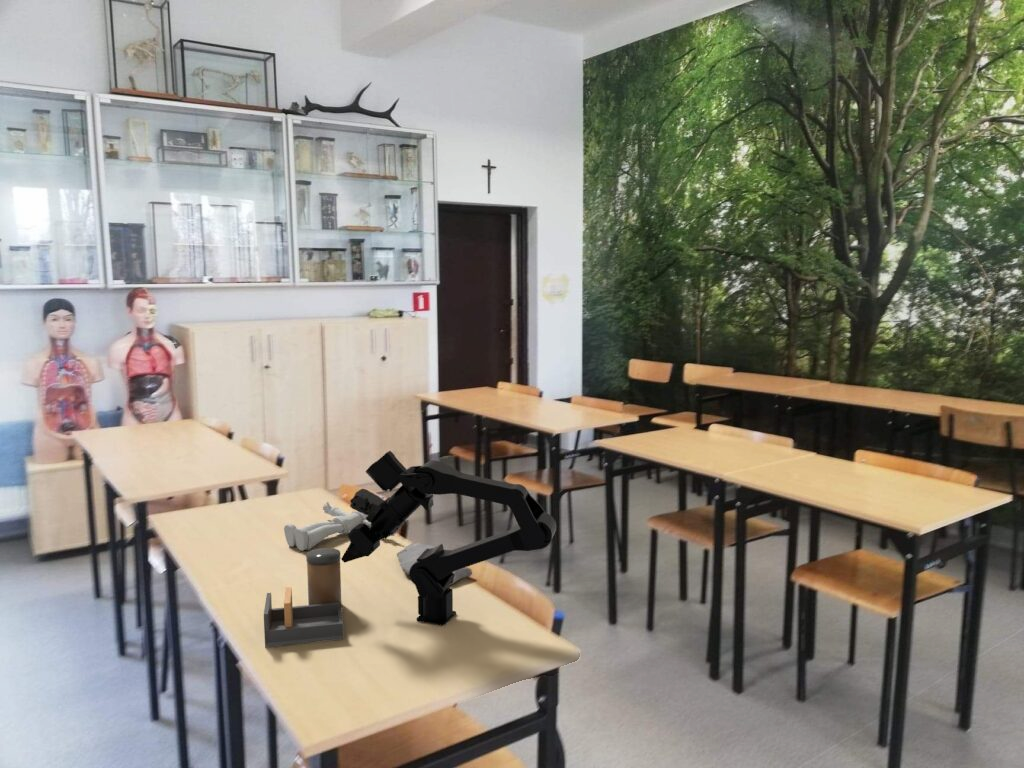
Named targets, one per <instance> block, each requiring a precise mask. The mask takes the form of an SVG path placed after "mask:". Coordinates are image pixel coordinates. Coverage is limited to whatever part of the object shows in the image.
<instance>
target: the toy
mask: <svg viewBox="0 0 1024 768" xmlns="http://www.w3.org/2000/svg"><path fill="white" fill-rule="evenodd" d="M379 497H380V498H381V499H383V500H385V496H383V497H381V496H379ZM322 511H324V513H325V514H327V515H329V516H331V517H335V518H332V520H331V521H317V522H313V523H310V524H308V525H304V526H300V527H297V526H296V525H295V524H293V523H288V524H286V525H284V527H283V530H284V536H285V540H286V542H287V545H288V546H289V547H296V548H297V549H298V550H299V551H302V552H303V551H305V550H306V551H309V550H310V551H311V549H312V548H314V547H315V546H316V545H317V544H318V543H320V542H321V541H323V540H324V539H325V538H329V536H332V535H335V534H337V533H338V534H340V535H341V534H346V533H347V534H348V533H349V532H350V531H351V530H352V529H353V528H354V527H356V526H357V525H358V524H360V523H361V524H366V525H367V526H368V527H369V528H370V527H371V522H368V521H367V520H366V519H365V518H366V517H367V516H368V515H366V514H364V513H360V512H358V511H357V510H355V511H354V510H353V511H351V513H347V512H345V511H343V510H341V509H340V508H339V507H336V506H332V505H330V503H329V501H327V502H326V504H323V505H322ZM397 532H398V530H397V531H396V532H395V533H393V534H392V535H391V536H390V537H395V535H396V534H397ZM295 545H296V546H295Z"/></svg>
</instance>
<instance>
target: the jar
mask: <svg viewBox="0 0 1024 768" xmlns="http://www.w3.org/2000/svg"><path fill="white" fill-rule="evenodd" d="M305 557H306V558H305V559H306V569H307V570H306V571H307V573H306V574H307V575H306V576H307V596H308V602H307V603H308V605H316V604H326V603H336V602H342V581H341V580H342V579H341V577H342V576H341V551H340V550H339V549H336V548H333V547H323V548H321V547H320V548H317V549H313V550H310V551H308V552H307V553H306V556H305Z"/></svg>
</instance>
